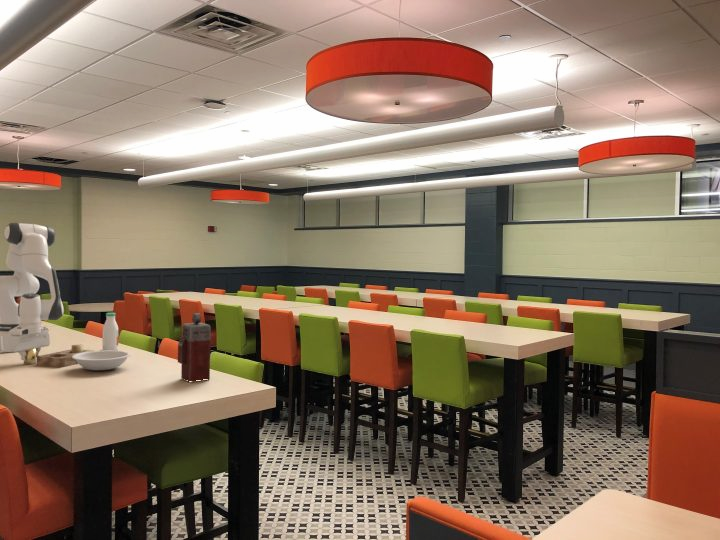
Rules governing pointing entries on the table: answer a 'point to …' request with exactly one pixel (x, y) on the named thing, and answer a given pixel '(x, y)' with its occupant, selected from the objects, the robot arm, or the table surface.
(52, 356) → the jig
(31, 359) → the bushing
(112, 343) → the milk bottle
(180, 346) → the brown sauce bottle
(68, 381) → the table surface
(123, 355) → the soup bowl
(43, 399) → the table surface
